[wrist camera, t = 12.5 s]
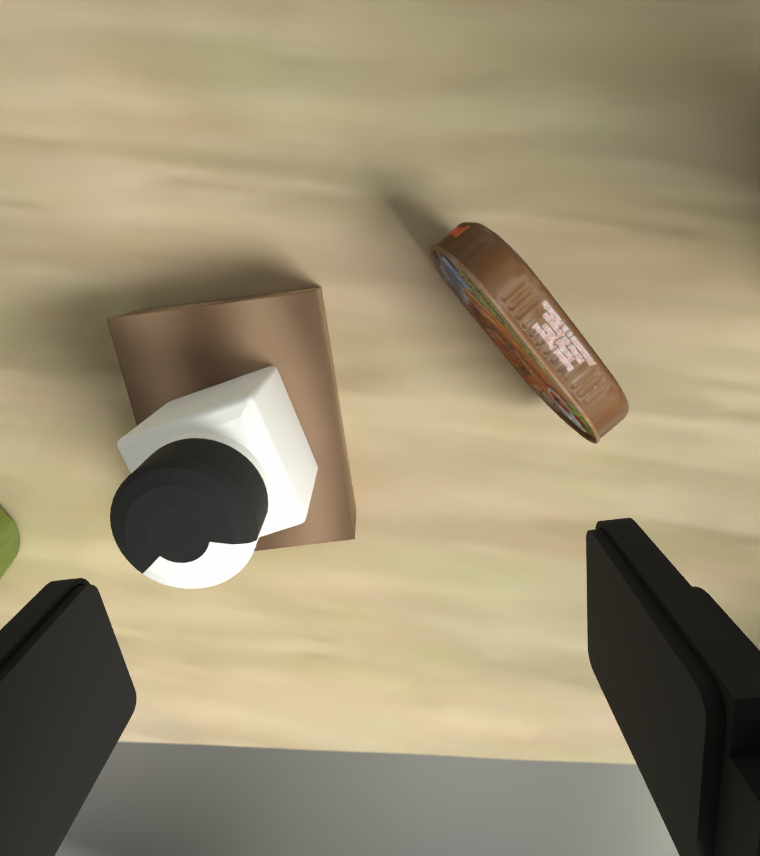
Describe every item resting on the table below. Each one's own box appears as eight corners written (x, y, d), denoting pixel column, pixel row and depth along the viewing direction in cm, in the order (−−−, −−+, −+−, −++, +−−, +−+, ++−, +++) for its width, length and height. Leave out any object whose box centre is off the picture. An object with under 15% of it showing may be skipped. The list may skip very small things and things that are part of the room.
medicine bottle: (165, 401, 32) (53, 486, 21) (276, 363, 31) (222, 428, 20) (216, 502, 34) (139, 630, 23) (320, 468, 33) (294, 582, 22)
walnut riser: (321, 286, 34) (314, 291, 30) (356, 510, 39) (354, 538, 35) (135, 311, 34) (106, 318, 30) (194, 530, 39) (176, 560, 35)
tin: (419, 251, 33) (435, 252, 25) (459, 215, 33) (487, 205, 25) (558, 421, 37) (610, 469, 29) (596, 392, 36) (659, 433, 28)
